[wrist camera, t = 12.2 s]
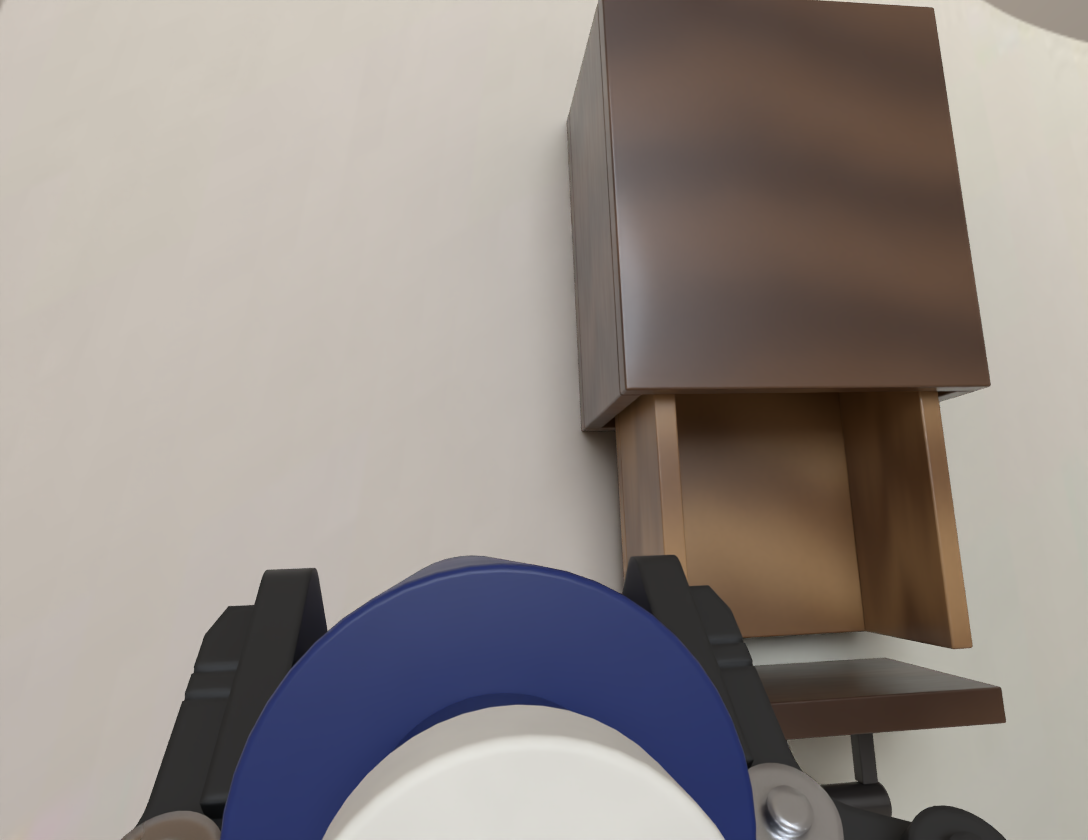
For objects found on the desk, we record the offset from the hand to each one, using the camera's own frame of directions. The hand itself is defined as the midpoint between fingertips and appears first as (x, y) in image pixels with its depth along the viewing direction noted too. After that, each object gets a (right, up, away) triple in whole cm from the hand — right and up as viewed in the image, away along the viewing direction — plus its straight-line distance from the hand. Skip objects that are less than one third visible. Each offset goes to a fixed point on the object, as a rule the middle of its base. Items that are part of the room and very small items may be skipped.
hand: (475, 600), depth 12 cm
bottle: (-1, -3, +6) cm, 7 cm away
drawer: (+10, -4, +20) cm, 22 cm away
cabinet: (+9, +10, +23) cm, 27 cm away
